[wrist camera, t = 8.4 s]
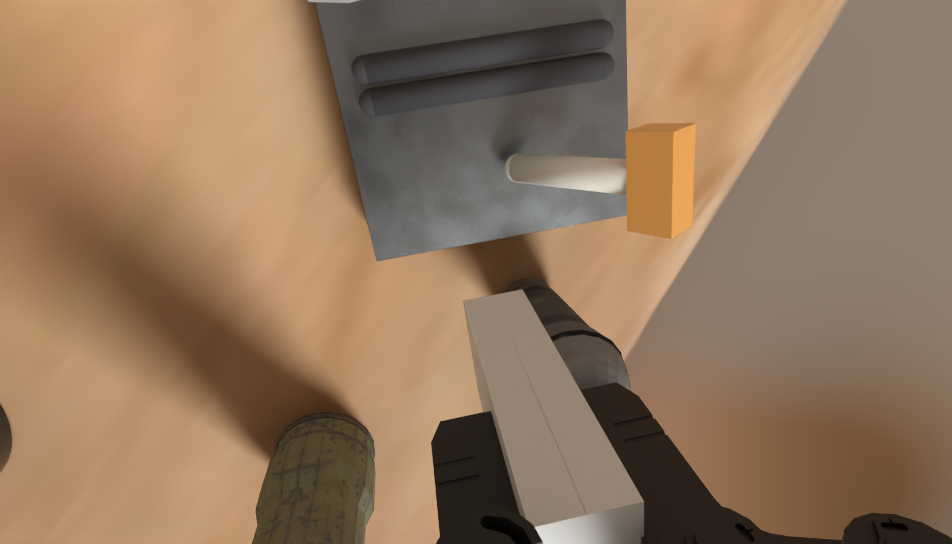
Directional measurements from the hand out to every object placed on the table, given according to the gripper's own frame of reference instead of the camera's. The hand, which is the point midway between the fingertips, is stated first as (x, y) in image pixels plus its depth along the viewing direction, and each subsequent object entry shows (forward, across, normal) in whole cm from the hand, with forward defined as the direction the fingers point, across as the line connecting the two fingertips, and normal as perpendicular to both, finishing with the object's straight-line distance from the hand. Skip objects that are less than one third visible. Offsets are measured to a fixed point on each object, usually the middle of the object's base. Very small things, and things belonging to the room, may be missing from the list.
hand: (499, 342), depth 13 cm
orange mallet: (+20, +5, 0) cm, 21 cm away
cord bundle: (+21, +4, +6) cm, 22 cm away
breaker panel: (+26, +4, +6) cm, 27 cm away
